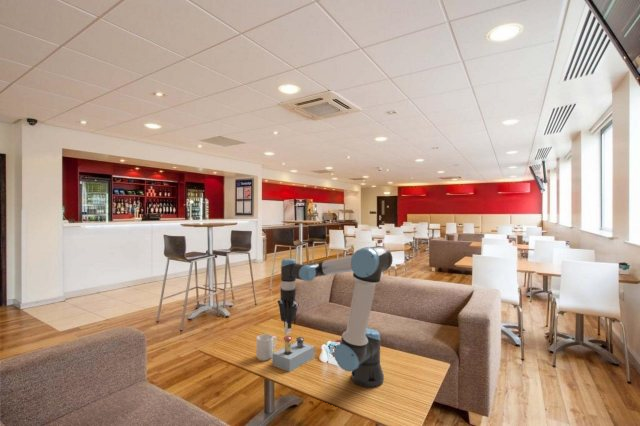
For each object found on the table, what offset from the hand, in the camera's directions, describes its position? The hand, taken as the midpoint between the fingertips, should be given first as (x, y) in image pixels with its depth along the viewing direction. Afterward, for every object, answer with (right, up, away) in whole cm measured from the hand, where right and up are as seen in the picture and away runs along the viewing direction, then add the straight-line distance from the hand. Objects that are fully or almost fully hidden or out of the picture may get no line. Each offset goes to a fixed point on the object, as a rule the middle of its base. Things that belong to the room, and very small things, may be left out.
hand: (287, 334), depth 165 cm
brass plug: (0, -11, 0) cm, 11 cm away
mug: (-12, -16, +9) cm, 22 cm away
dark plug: (+6, -14, +8) cm, 17 cm away
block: (+3, -16, +4) cm, 16 cm away
